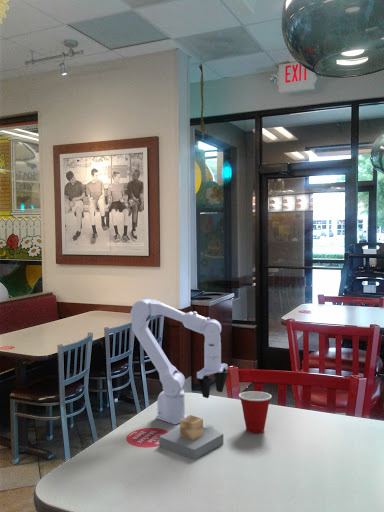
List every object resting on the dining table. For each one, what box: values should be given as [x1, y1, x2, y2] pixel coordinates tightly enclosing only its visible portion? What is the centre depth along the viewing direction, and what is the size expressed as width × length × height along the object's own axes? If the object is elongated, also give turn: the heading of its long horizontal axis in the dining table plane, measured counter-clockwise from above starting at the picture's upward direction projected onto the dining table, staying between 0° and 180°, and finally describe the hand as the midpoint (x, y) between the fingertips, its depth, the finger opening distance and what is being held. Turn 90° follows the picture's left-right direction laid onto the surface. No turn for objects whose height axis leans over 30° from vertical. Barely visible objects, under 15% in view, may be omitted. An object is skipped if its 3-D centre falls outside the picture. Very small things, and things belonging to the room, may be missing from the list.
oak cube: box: [179, 414, 204, 440], centre depth 145 cm, size 5×5×5 cm
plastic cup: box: [238, 390, 273, 434], centre depth 157 cm, size 11×11×12 cm
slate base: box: [158, 426, 224, 461], centre depth 146 cm, size 14×14×3 cm
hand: (212, 394), depth 164 cm, fingers open, 7 cm apart
